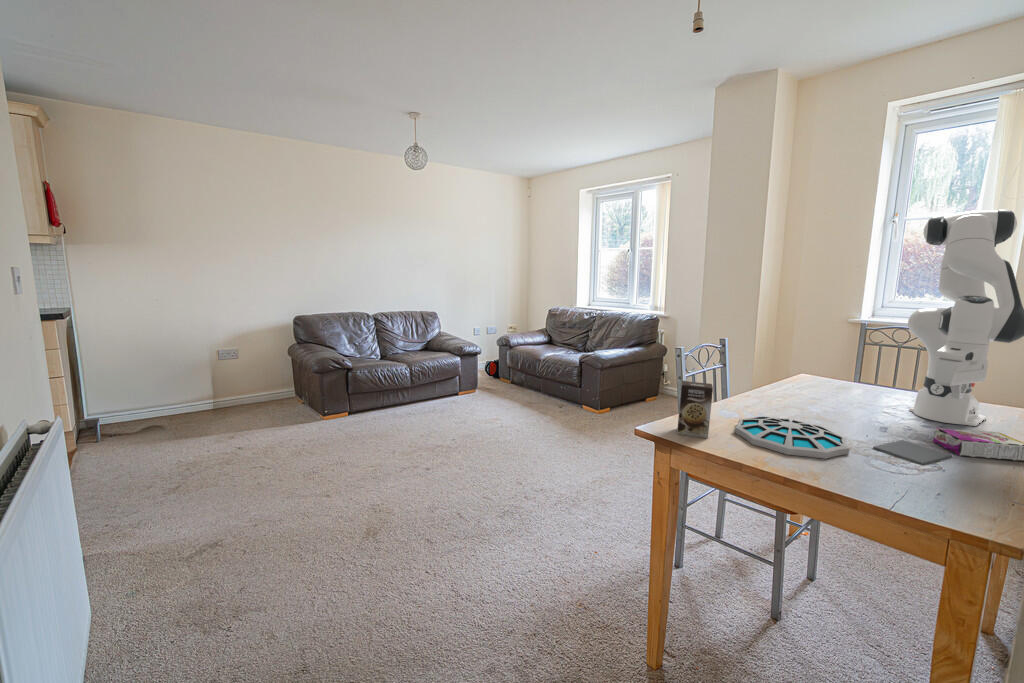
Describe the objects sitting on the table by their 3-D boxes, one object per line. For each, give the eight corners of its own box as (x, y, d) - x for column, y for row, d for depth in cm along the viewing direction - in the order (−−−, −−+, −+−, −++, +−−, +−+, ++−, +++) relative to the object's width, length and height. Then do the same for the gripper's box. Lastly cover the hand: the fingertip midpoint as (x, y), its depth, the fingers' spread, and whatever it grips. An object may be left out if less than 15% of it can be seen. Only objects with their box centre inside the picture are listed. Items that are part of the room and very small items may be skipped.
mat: (902, 441, 138) (902, 439, 137) (952, 457, 127) (952, 455, 127) (872, 448, 132) (873, 446, 132) (922, 465, 121) (923, 463, 121)
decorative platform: (875, 460, 125) (878, 443, 124) (774, 461, 123) (776, 443, 122) (799, 422, 155) (801, 408, 154) (717, 422, 153) (718, 408, 153)
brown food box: (677, 434, 141) (680, 384, 138) (677, 428, 147) (681, 379, 144) (708, 439, 138) (713, 387, 135) (707, 432, 144) (712, 382, 141)
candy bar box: (934, 426, 137) (999, 431, 134) (932, 442, 138) (996, 447, 135) (962, 439, 126) (1033, 445, 123) (959, 456, 127) (1029, 462, 124)
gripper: (970, 348, 138) (962, 392, 140) (932, 351, 130) (925, 398, 132) (998, 352, 132) (989, 397, 135) (961, 355, 124) (952, 404, 127)
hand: (957, 398), depth 133 cm, fingers closed
